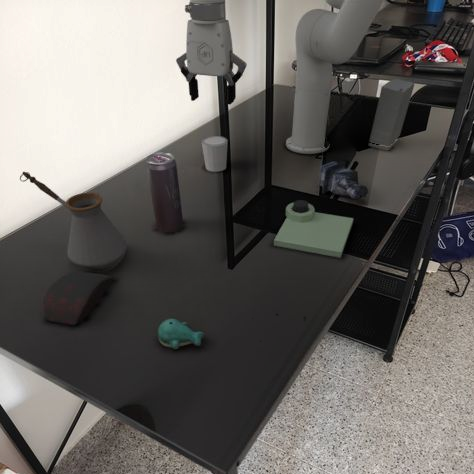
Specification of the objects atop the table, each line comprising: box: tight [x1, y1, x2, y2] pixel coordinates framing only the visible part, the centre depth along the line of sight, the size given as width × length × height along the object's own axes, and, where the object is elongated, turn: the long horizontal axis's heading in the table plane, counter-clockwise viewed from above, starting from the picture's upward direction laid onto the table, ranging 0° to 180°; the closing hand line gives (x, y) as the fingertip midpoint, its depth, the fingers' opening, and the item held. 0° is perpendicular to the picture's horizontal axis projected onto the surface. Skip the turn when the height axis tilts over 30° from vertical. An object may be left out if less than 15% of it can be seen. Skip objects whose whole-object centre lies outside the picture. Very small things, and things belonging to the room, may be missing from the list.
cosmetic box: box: [368, 78, 415, 152], centre depth 120 cm, size 8×7×16 cm
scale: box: [273, 202, 354, 259], centre depth 91 cm, size 15×14×3 cm
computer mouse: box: [43, 271, 114, 326], centre depth 77 cm, size 8×14×4 cm, turn 165°
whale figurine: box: [157, 318, 205, 350], centre depth 69 cm, size 6×7×4 cm
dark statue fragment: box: [317, 160, 369, 201], centre depth 102 cm, size 6×13×6 cm, turn 43°
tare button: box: [292, 199, 309, 213], centre depth 94 cm, size 3×3×2 cm
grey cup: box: [201, 135, 228, 173], centre depth 114 cm, size 7×7×7 cm
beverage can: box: [145, 152, 184, 234], centre depth 90 cm, size 6×6×15 cm
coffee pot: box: [19, 171, 128, 273], centre depth 83 cm, size 21×12×15 cm, turn 59°
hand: (212, 100), depth 105 cm, fingers open, 9 cm apart
